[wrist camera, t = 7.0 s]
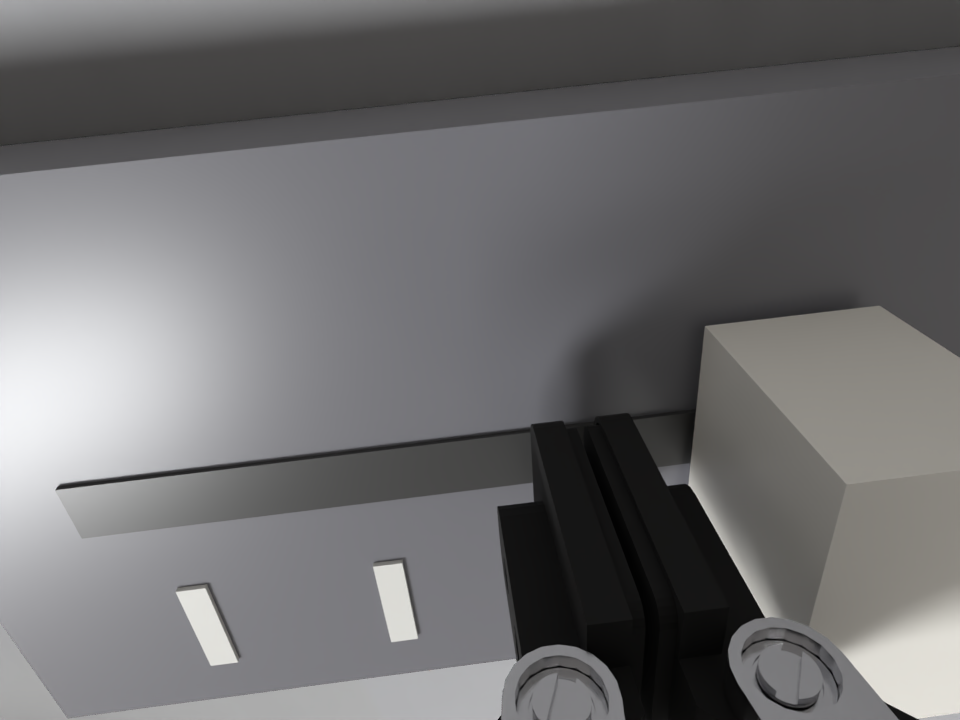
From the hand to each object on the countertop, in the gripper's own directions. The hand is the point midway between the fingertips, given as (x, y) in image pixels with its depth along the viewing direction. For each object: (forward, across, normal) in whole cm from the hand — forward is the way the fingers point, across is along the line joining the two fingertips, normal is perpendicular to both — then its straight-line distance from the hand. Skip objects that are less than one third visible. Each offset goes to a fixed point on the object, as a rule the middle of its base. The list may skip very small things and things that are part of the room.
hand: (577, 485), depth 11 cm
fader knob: (+1, -4, 0) cm, 4 cm away
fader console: (+4, 0, 0) cm, 4 cm away
